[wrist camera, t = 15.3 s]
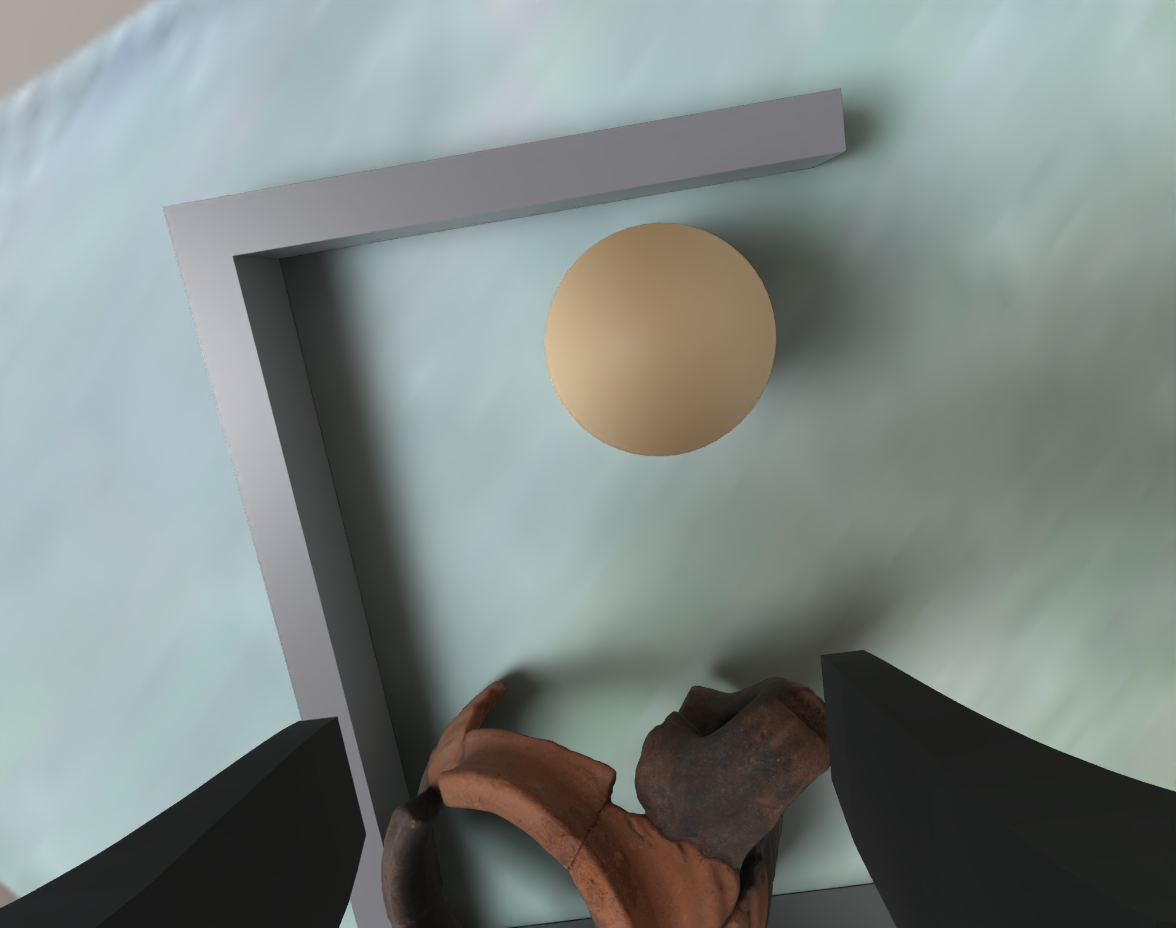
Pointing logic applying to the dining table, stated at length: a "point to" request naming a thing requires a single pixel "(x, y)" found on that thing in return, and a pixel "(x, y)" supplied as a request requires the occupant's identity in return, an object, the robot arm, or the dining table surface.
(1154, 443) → the dining table surface
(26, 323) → the dining table surface
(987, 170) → the dining table surface
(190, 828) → the robot arm
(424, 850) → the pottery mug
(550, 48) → the dining table surface
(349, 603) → the frame
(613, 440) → the oak dowel
